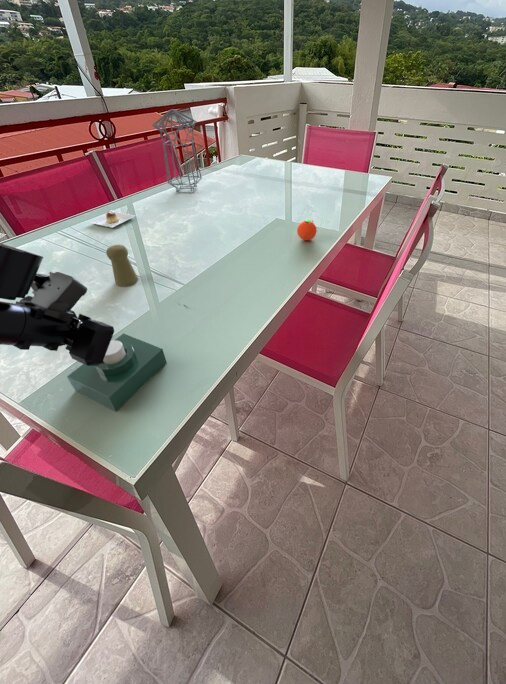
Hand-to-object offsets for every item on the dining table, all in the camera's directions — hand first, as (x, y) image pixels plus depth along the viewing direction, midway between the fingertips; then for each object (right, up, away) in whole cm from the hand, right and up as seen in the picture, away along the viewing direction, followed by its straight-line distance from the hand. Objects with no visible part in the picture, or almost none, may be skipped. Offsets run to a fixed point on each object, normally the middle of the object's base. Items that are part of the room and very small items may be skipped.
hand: (104, 333), depth 60 cm
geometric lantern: (-19, +56, +101) cm, 116 cm away
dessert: (-37, +34, +69) cm, 86 cm away
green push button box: (0, -10, +7) cm, 12 cm away
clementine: (+39, +26, +59) cm, 75 cm away
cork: (-14, +10, +35) cm, 39 cm away
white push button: (0, -5, +4) cm, 6 cm away
